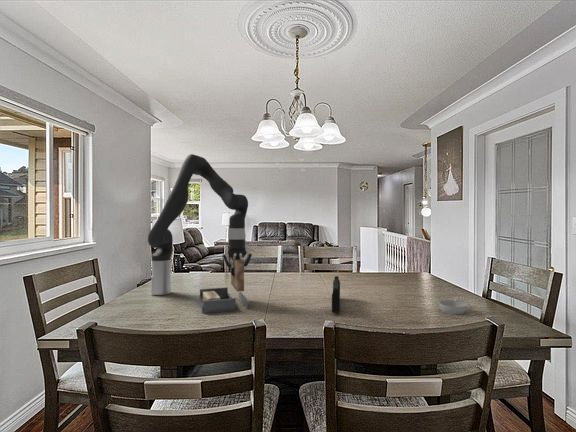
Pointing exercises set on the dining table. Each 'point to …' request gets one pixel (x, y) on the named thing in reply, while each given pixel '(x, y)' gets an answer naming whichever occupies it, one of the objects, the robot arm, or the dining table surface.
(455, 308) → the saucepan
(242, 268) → the walnut board
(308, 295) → the dining table surface
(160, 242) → the robot arm
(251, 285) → the dining table surface
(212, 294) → the offcut stack
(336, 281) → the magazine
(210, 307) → the grey open tray
